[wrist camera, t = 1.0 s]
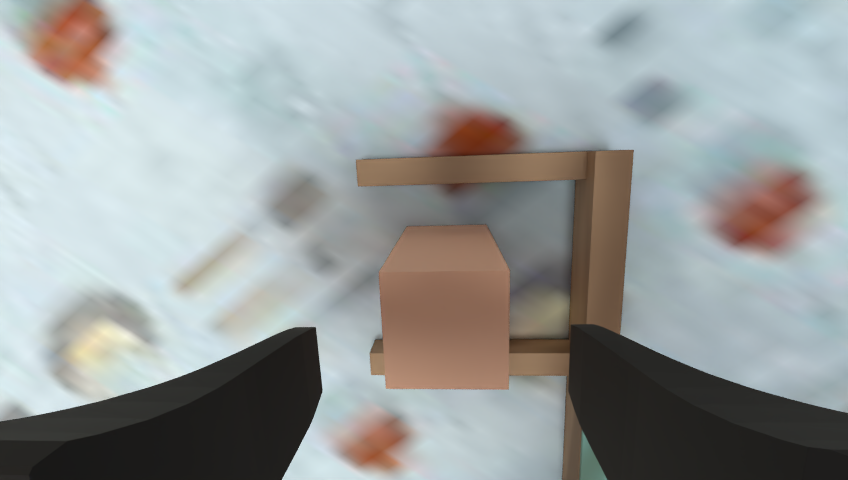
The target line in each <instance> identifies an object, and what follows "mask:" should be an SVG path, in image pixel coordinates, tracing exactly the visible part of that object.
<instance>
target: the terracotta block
mask: <svg viewBox="0 0 848 480" xmlns="http://www.w3.org/2000/svg"><path fill="white" fill-rule="evenodd" d="M379 285H380V301H381V317H382V333H383V349H384V365H385V381H386V389H509V311H510V270H509V268H508V266H507V264H506V262H505V260H504V258H503V256H502V254H501V252H500V250H499V248H498V246H497V244H496V242H495V240H494V238H493V237H492V235H491V233H490V231H489V229H488V227H487V225H446V226H407V227H406V229H405V230H404V232H403V233H402V235H401V237H400V238H399V240H398V242H397V243H396V245H395V247H394V248H393V250H392V251H391V253H390V255H389V256H388V258H387V260H386V261H385V263H384V265H383V266H382V268H381V269H380V271H379Z"/></svg>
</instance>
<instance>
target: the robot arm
mask: <svg viewBox="0 0 848 480" xmlns="http://www.w3.org/2000/svg"><path fill="white" fill-rule="evenodd" d="M568 392H569V395H570V398H571V401H572V404H573V408H574V410H575V413H576V416H577V419H578V422H579V424H580V426H581V428H582V431H583V433H584V435H585V437H586V439H587V441H588V443H589V445H590V447H591V449H592V451H593V453H594V455H595V457H596V459H597V460H598V462H599V464H600V466H601V468H602V470H603V472H604V474H605V476H606V478H607V480H848V413H845V412H840V411H835V410H831V409H827V408H823V407H818V406H814V405H810V404H806V403H802V402H798V401H795V400H791V399H787V398H784V397H780V396H776V395H773V394H769V393H765V392H762V391H759V390H755V389H752V388H749V387H746V386H743V385H740V384H737V383H734V382H731V381H728V380H725V379H722V378H719V377H716V376H713V375H711V374H708V373H705V372H703V371H700V370H698V369H695V368H693V367H690V366H688V365H685V364H683V363H681V362H678V361H676V360H673V359H671V358H669V357H667V356H664V355H662V354H660V353H658V352H655V351H653V350H651V349H649V348H647V347H645V346H643V345H640V344H638V343H636V342H634V341H632V340H630V339H628V338H626V337H624V336H622V335H619V334H617V333H615V332H613V331H611V330H608V329H606V328H604V327H601V326H598V325H595V324H571V332H570V358H569V384H568ZM321 394H322V382H321V372H320V363H319V354H318V344H317V335H316V327H295V328H292V329H288V330H286V331H283V332H281V333H278V334H276V335H274V336H272V337H269V338H267V339H265V340H263V341H261V342H259V343H257V344H255V345H253V346H250V347H248V348H246V349H244V350H242V351H240V352H238V353H236V354H233V355H231V356H229V357H226V358H224V359H222V360H220V361H217V362H215V363H213V364H211V365H208V366H206V367H204V368H201V369H199V370H196V371H194V372H191V373H189V374H186V375H183V376H181V377H178V378H175V379H172V380H169V381H167V382H164V383H161V384H158V385H155V386H152V387H149V388H145V389H142V390H138V391H135V392H131V393H128V394H124V395H121V396H117V397H114V398H110V399H107V400H103V401H99V402H95V403H91V404H87V405H83V406H78V407H74V408H70V409H65V410H60V411H56V412H51V413H46V414H41V415H36V416H31V417H26V418H20V419H13V420H7V421H1V422H0V480H282V478H283V476H284V474H285V472H286V470H287V469H288V467H289V465H290V463H291V461H292V459H293V457H294V455H295V453H296V452H297V450H298V448H299V446H300V444H301V442H302V440H303V438H304V436H305V434H306V432H307V430H308V428H309V426H310V424H311V422H312V420H313V417H314V414H315V412H316V409H317V406H318V403H319V400H320V397H321Z"/></svg>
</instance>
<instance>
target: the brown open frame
mask: <svg viewBox="0 0 848 480" xmlns="http://www.w3.org/2000/svg"><path fill="white" fill-rule="evenodd" d="M633 152H634V150H610V151H583V152H555V153H528V154H501V155H473V156H446V157H419V158H391V159H364V160H356V167H357V181H358V186H388V185H420V184H452V183H483V182H515V181H547V180H576V181H575V204H574V226H573V249H572V271H571V294H570V316H569V339H509V375H534V376H567V384H566V406H565V429H564V451H563V474H562V480H607V478H606V476H605V474H604V472H603V470H602V468H601V466H600V464H599V462H598V460H597V459H596V457H595V455H594V453H593V451H592V449H591V447H590V445H589V443H588V441H587V439H586V437H585V435H584V433H583V431H582V428H581V426H580V424H579V422H578V419H577V416H576V413H575V410H574V408H573V404H572V401H571V398H570V395H569V392H568V384H569V358H570V332H571V324H595V325H598V326H601V327H604V328H606V329H608V330H611V331H613V332H615V333H617V334H619V335H620V328H621V314H622V301H623V287H624V274H625V260H626V247H627V233H628V220H629V206H630V193H631V179H632V166H633ZM370 364H371V375H385V365H384V349H383V340H375V342H374V344H373V347H372V349H371V352H370Z"/></svg>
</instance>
